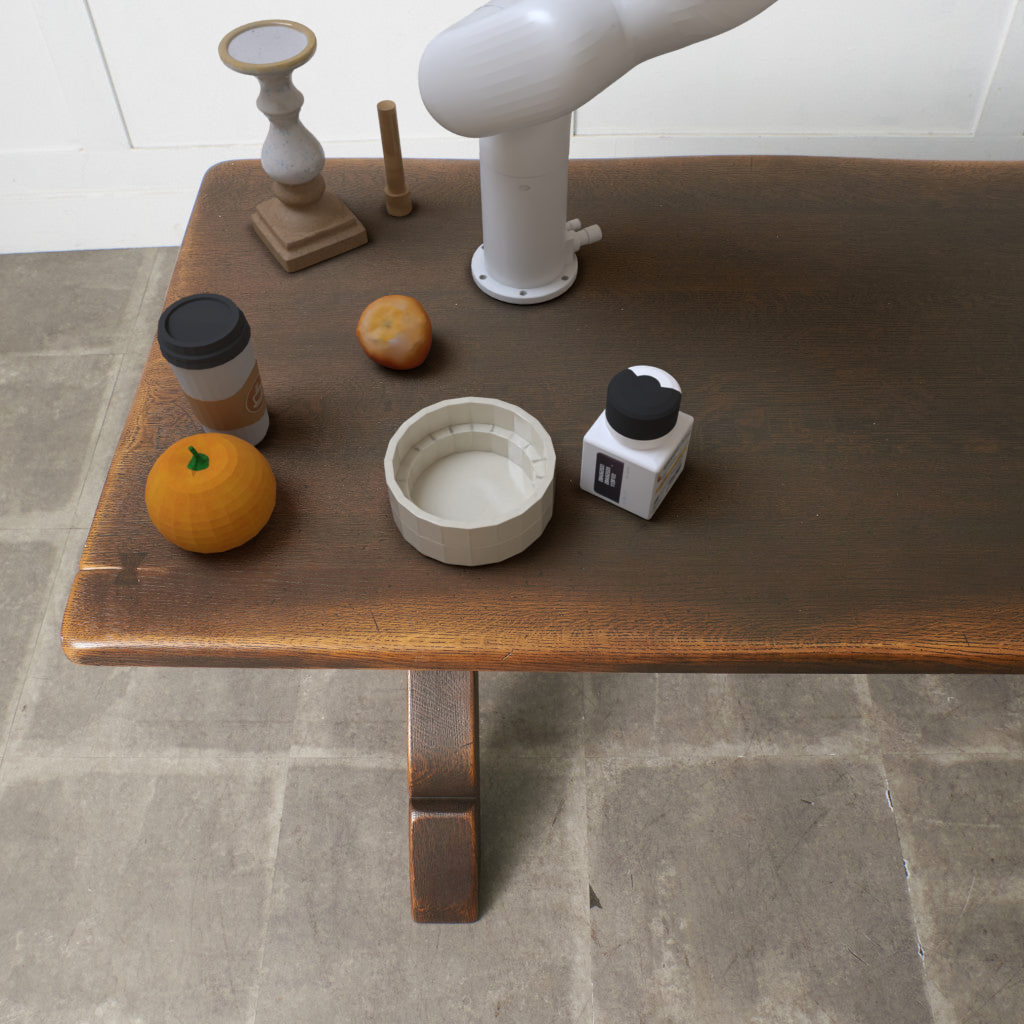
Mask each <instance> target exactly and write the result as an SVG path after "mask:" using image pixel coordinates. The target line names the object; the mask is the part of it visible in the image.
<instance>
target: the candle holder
mask: <svg viewBox="0 0 1024 1024" xmlns="http://www.w3.org/2000/svg"><path fill="white" fill-rule="evenodd" d="M317 49H318V40H317V37H316V34H315V32H314V31H313V30H312V29H311V28H309V26H307V25H305V24H304V23H300V22H297V21H294V20H288V19H279V18H278V19H276V18H275V19H273V18H272V19H263V20H262V19H261V20H256V21H251V22H248V23H245V24H242V25H240V26H238V27H235V28H234V29H231V30H230V31H229V32H228V33H226V34H225V35H224V36H223V37H222V38H221V40H220V42H219V44H218V46H217V52H218V56H219V59H220V61H221V62H222V64H223V65H224V66H225V67H226V68H228V69H230V70H231V71H233V72H235V73H238V74H241V75H244V76H253V77H254V78H255V79H256V80H257V82H258V84H259V93H258V96H257V97H256V101H255V104H256V108H257V110H258V111H259V112H261V113H262V114H263V116H265V118H266V119H267V120H268V122H269V126H268V132H267V135H266V136H265V139H264V140H263V144H262V147H261V151H260V164H261V168H262V170H263V171H264V173H265V174H266V176H267V177H269V178H270V179H271V180H273V183H272V184H273V186H272V190H273V193H274V197H273V198H270V199H268V200H266V201H263V202H261V203H259V204H257V205H256V206H255V211H256V212H254V213H252V214H251V215H250V220H251V224H252V228H253V230H254V231H255V233H256V234H257V236H258V237H259V239H260V240H261V241H262V242H263V244H264V245H265V246H266V248H267V249H268V250H269V252H270V253H271V255H273V257H274V258H275V260H277V262H278V263H279V264H280V266H281V267H282V268H283V270H285V271H286V273H289V274H291V273H294V272H297V271H300V270H302V269H303V270H304V269H306V268H308V267H311V266H313V265H316V264H318V263H321V262H324V261H326V260H328V259H331V258H333V257H336V256H338V255H341V254H344V253H346V252H349V251H351V250H354V249H356V248H358V247H361V246H363V245H365V244H367V243H369V242H368V236H367V230H366V228H365V225H364V224H363V223H362V222H361V221H360V220H359V219H358V217H357V216H356V215H355V214H354V213H353V212H352V210H350V209H349V208H348V206H347V205H346V204H345V202H343V200H342V199H341V198H340V196H338V195H337V194H336V193H335V192H334V191H333V190H332V188H331V187H329V186H328V185H327V184H326V181H325V178H324V176H323V175H322V174H321V172H322V171H323V169H324V166H325V165H326V164H325V163H326V154H325V151H324V150H325V149H324V148H323V145H322V144H321V142H320V141H319V140H318V138H317V137H316V136H315V135H314V134H313V133H312V132H311V131H310V130H309V129H308V128H307V127H306V126H305V125H304V124H303V122H302V120H301V118H300V113H301V112H302V111H301V110H302V108H303V106H304V105H305V96H304V94H303V93H302V92H301V91H300V90H299V89H298V88H297V87H296V85H295V84H294V82H293V73H294V71H295V70H297V69H299V68H301V67H302V66H304V65H306V64H307V63H308V62H310V61H311V60H312V59H313V57H314V56H315V54H316V53H317Z"/></svg>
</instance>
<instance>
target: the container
mask: <svg viewBox="0 0 1024 1024" xmlns="http://www.w3.org/2000/svg"><path fill="white" fill-rule="evenodd" d="M682 396H683V393H682V389H681V386H680V384H679V382H678V381H677V379H675V378H674V377H673V376H672V375H671V374H670V373H668V372H667V371H665V370H664V369H661V368H659V367H655V366H651V365H633V366H631V367H627V368H625V369H622V370H620V371H619V372H617V373H616V374H615V375H613V377H611V379H610V381H609V383H608V385H607V389H606V400H605V408H604V410H603V411H602V412H601V414H600V415H599V416H598V417H597V419H596V420H595V421H594V423H592V425H591V427H590V428H589V429H588V430H587V432H586V433H585V434H584V436H583V440H582V453H581V467H580V477H579V478H580V479H579V487H580V489H581V490H583V491H585V492H587V493H588V494H592V495H593V496H596V497H598V498H600V499H602V500H604V501H606V502H608V503H610V504H612V505H615V506H617V507H619V508H620V509H621V508H622V509H623V510H626V512H627V511H628V512H629V513H631V514H634V515H636V516H637V517H640V518H642V519H644V520H650V519H652V517H653V515H654V514H655V513H656V511H657V509H658V508H659V506H660V505H661V503H662V502H663V501H664V499H665V498H666V496H667V494H668V493H669V491H670V490H671V488H673V485H674V484H675V482H676V481H677V480H678V478H679V476H680V475H681V473H682V472H683V470H684V468H685V463H686V460H687V459H686V458H687V455H688V450H689V449H688V448H689V444H690V441H691V435H692V430H693V426H694V423H695V422H694V421H695V419H694V417H693V416H692V415H689V414H688V413H685V412H683V411H681V410H680V409H681V403H682V398H683V397H682Z"/></svg>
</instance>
